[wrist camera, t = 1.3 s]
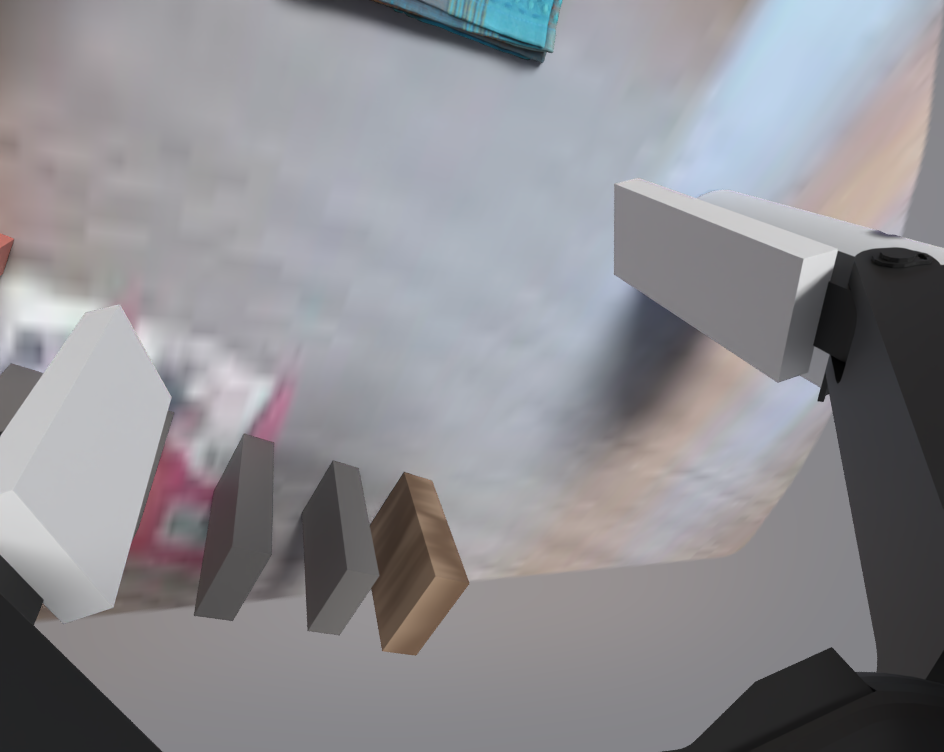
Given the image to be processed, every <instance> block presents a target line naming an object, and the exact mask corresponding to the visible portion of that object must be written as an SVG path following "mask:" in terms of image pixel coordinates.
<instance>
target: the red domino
mask: <svg viewBox="0 0 944 752" xmlns="http://www.w3.org/2000/svg"><path fill="white" fill-rule="evenodd" d="M13 241H14V239H13V238H11V237H8V236H5V235H3V234H0V276H1V275H2V274H3V272H4V268H5V265H6V262H7V259H8V256H9V253H10V250H11V247H12V244H13Z"/></svg>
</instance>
